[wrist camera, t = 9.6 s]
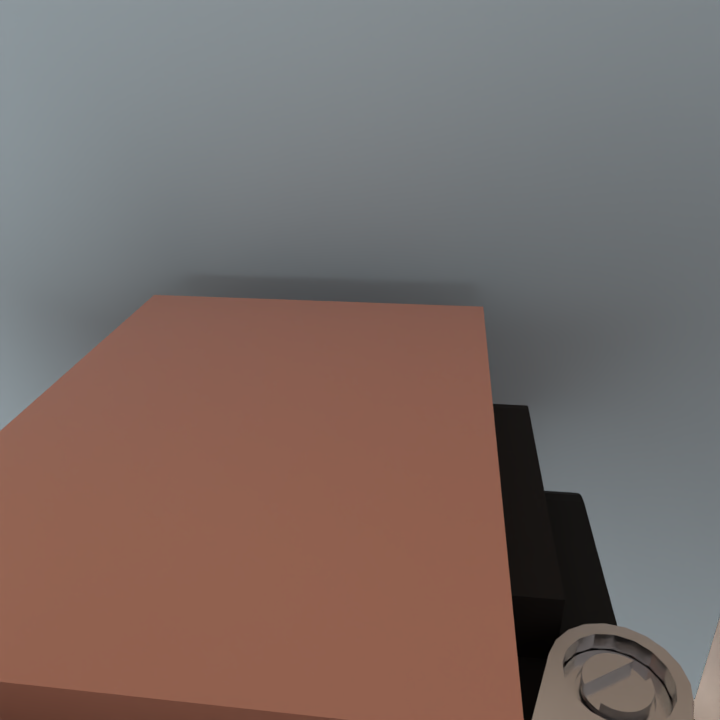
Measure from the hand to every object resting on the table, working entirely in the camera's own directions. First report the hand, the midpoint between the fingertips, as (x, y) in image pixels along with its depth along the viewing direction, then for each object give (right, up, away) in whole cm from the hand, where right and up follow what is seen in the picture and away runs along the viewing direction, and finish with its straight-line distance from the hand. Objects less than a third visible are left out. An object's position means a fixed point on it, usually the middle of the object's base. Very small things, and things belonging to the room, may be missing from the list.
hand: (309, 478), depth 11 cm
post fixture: (0, +1, +3) cm, 3 cm away
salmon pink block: (0, 0, +1) cm, 1 cm away
